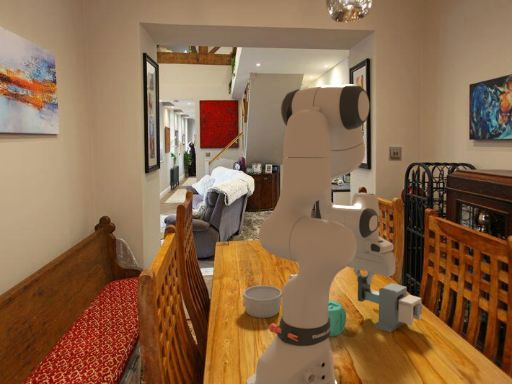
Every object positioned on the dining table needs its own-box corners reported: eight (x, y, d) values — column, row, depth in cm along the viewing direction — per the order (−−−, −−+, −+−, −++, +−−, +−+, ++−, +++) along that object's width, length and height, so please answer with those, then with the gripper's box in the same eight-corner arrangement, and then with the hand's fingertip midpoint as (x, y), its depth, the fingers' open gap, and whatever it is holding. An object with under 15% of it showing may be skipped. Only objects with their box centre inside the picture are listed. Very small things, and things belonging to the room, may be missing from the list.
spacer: (411, 325, 111) (411, 303, 110) (398, 320, 114) (398, 299, 113) (420, 319, 115) (421, 298, 114) (408, 315, 118) (408, 294, 117)
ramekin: (279, 321, 122) (278, 300, 122) (239, 318, 125) (238, 298, 124) (284, 305, 135) (284, 286, 134) (248, 302, 138) (247, 284, 137)
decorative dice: (333, 339, 110) (333, 313, 109) (309, 331, 115) (309, 306, 114) (346, 329, 116) (346, 304, 115) (323, 322, 121) (323, 298, 120)
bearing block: (389, 332, 113) (390, 295, 112) (374, 327, 117) (375, 291, 116) (409, 320, 121) (410, 285, 120) (394, 315, 125) (395, 281, 124)
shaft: (415, 319, 111) (416, 292, 110) (357, 300, 125) (357, 277, 124) (423, 314, 114) (424, 288, 113) (366, 296, 128) (366, 273, 128)
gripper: (332, 238, 130) (332, 277, 131) (387, 249, 114) (387, 293, 116) (343, 235, 134) (343, 273, 135) (398, 245, 119) (397, 288, 120)
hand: (364, 282), depth 126 cm, fingers closed on shaft, 2 cm apart
